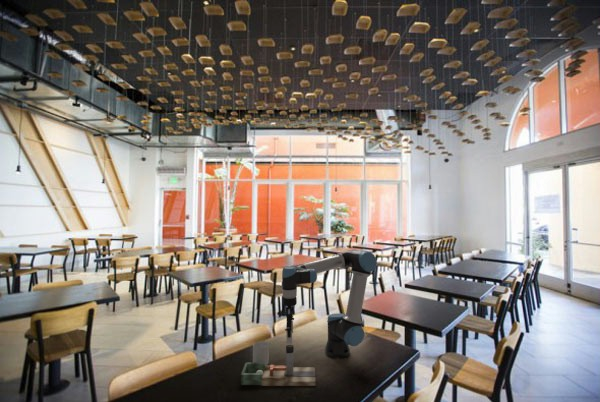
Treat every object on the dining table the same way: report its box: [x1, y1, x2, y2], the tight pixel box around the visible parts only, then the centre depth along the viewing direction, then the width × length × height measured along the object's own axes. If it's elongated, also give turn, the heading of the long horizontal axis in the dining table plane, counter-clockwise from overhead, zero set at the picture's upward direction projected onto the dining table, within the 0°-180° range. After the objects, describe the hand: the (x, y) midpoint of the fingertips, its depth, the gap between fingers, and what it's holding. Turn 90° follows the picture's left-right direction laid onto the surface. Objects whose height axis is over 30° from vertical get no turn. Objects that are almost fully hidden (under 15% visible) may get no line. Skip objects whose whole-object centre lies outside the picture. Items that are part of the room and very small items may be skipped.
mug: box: [252, 341, 270, 365], centre depth 168 cm, size 12×9×11 cm
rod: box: [270, 344, 295, 376], centre depth 152 cm, size 12×5×14 cm, turn 89°
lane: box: [240, 361, 317, 387], centre depth 152 cm, size 38×14×5 cm, turn 89°
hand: (290, 337), depth 153 cm, fingers open, 13 cm apart
